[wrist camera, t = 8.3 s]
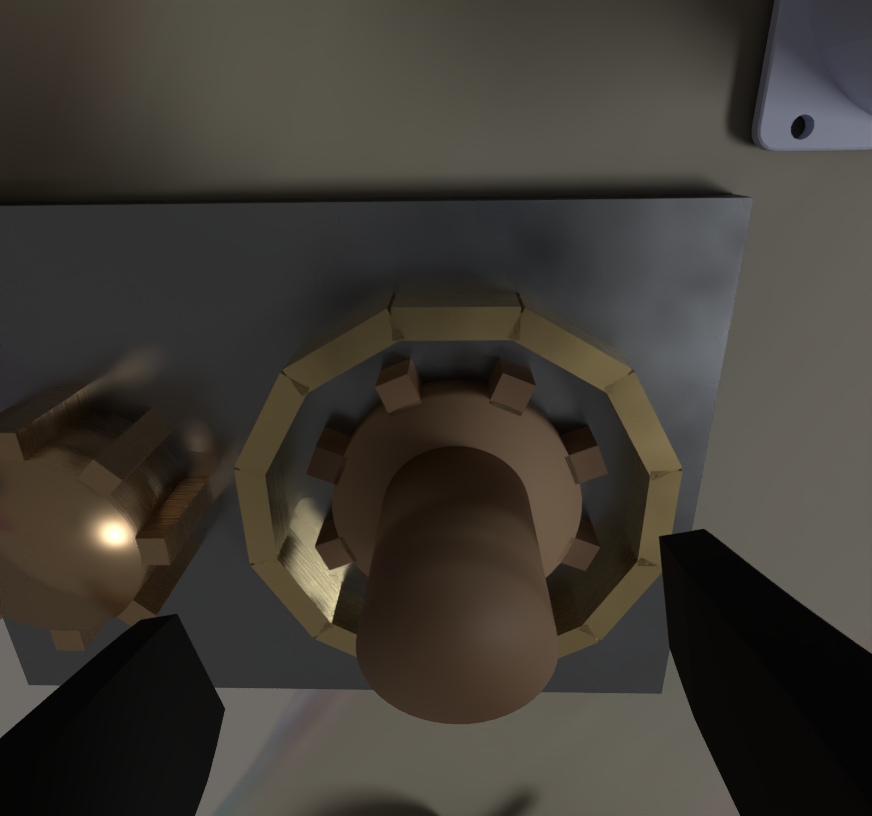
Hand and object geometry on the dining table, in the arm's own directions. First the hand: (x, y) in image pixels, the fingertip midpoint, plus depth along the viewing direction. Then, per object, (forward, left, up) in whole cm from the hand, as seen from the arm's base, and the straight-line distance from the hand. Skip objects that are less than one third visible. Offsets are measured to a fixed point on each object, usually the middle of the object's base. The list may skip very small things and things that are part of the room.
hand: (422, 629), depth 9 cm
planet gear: (0, +3, -8) cm, 9 cm away
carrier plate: (+4, +3, -9) cm, 10 cm away
